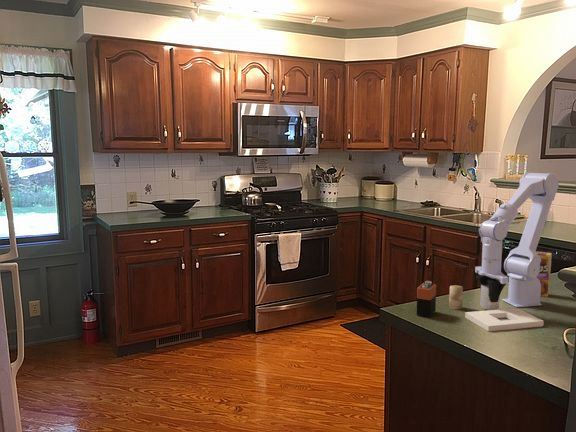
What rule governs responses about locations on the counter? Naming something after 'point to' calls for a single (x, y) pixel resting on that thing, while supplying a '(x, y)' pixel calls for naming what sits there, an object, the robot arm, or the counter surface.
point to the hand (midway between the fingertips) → (489, 299)
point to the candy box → (544, 272)
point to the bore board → (493, 324)
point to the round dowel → (455, 297)
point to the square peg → (487, 298)
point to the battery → (426, 299)
